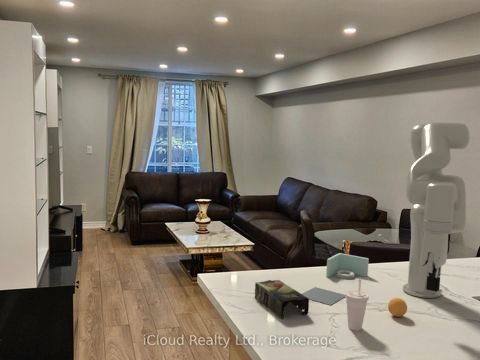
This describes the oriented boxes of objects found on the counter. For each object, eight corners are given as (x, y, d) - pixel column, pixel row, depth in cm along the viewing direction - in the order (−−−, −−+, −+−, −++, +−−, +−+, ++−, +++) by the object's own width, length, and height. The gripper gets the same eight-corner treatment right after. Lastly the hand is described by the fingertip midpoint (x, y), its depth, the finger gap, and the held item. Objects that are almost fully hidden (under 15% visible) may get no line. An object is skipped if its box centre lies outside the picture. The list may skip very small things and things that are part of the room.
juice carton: (251, 297, 154) (252, 278, 153) (277, 294, 158) (278, 276, 157) (280, 321, 136) (281, 300, 135) (309, 317, 140) (311, 297, 139)
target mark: (315, 287, 165) (315, 287, 165) (346, 295, 158) (346, 295, 158) (297, 296, 155) (297, 295, 155) (330, 305, 148) (330, 304, 148)
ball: (391, 311, 145) (392, 294, 145) (409, 315, 142) (410, 298, 141) (384, 316, 141) (385, 298, 140) (402, 321, 138) (404, 303, 137)
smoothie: (367, 333, 128) (370, 284, 126) (343, 331, 129) (346, 281, 128) (365, 324, 134) (369, 277, 133) (343, 322, 135) (346, 274, 134)
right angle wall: (326, 278, 178) (327, 259, 177) (338, 271, 188) (339, 253, 187) (356, 285, 171) (357, 265, 171) (367, 277, 181) (368, 258, 181)
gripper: (431, 222, 141) (426, 282, 142) (415, 227, 129) (411, 293, 130) (458, 225, 136) (453, 287, 138) (444, 231, 124) (439, 299, 126)
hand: (432, 290), depth 134 cm, fingers closed
